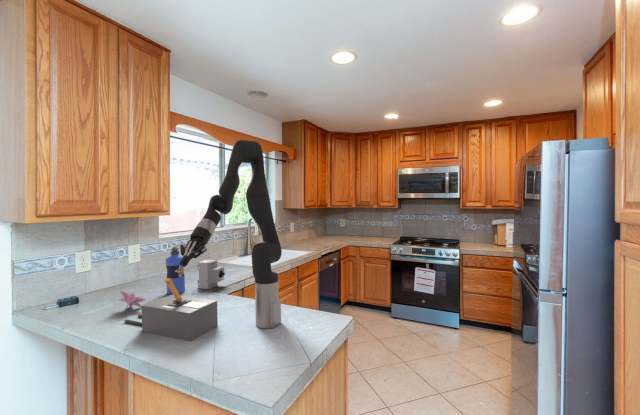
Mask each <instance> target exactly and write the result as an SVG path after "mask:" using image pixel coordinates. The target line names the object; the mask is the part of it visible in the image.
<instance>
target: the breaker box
mask: <svg viewBox="0 0 640 415" xmlns="http://www.w3.org/2000/svg"><path fill="white" fill-rule="evenodd" d="M180 296H181V298H182V299H183V300H181V301H180V302H177V300H176V298H175V297H174V295H166V296H164V297H161V298H159V299H156V300H153V301H150V302H148V303H145V304H142V305H141V306H142V308H141V313H139V314H138V315H137V317H138V318H141V321H137V320H132V319H125V320H124V323H126V324H131V325H137V326H141V332H144V333H147V334H153V335H158V336H162V337H166V338H173V339H177V340H183V341H187V342H192V341H194V340H196V339H197V338H199V337H200V336H202V335H204V334H206V333H207V332H209V331H211V330H213V329H214V328H216V327H218V325H219V323H218V319H219V318H218V300H214V299H207V298H200V297H192V296H185V295H180Z"/></svg>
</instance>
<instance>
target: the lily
mask: <svg viewBox="0 0 640 415" xmlns="http://www.w3.org/2000/svg"><path fill="white" fill-rule="evenodd" d="M118 292H119V293H120V295H121V296H122V297H121V298H119V299H117V301H119V302H120V301H121V302H124V303H126V304H127V305H126V307H125V310H124V313H126V312H127V308H128V307H129V308H132V307H133V306H136V307H138V308H141V309H142V305H141V304H140V303H142V302H145V301H147V299H146V298H144V297H139V296H136V295H135V292H134V293H133V292H130V293H127V292H126V291H124V290H119V291H118Z"/></svg>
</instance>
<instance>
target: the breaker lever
mask: <svg viewBox="0 0 640 415" xmlns="http://www.w3.org/2000/svg"><path fill="white" fill-rule="evenodd" d="M164 282H165V284H166V286H167V285H168V287H169V288H170V290H171V292H172V293H173V295H174V297H175V298H176V300H177V302H180V301H181V300H183V299H182V298H181V296H182V295H181V294H179V293H178V291H177V289H176V287H175V286H174V284H173V281H172V280H171V278H167V277H166V278H165V279H164Z"/></svg>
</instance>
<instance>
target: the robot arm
mask: <svg viewBox="0 0 640 415" xmlns="http://www.w3.org/2000/svg"><path fill="white" fill-rule="evenodd" d="M242 164H250V166H251V179H250V182H249V184H248V186H247V189H246V192H245V200H246V204H247V205H246V206H247V209H248V213H249V214H250V216H251V218H252V219H253V221H254V222H255V223H256V224H257V226H258V228H259V230H260V232H261V237H262V241H259V242H256V243H255V244H254V245H252V246H253V247H252V250H251V264H252V265H251V266H252V275H253V278H254V297H255V298H254V300H255V302H254V304H255V308H254V310H255V326H256V327H257V328H259V329H274V328H276V327H277V326H279V324H281V323H282V300H281V298H280V297H279V296H280V295H279V274H278V273H277V272H275V271H273V269H272V264H274V263H276V262H278V261H279V260H280V259H281V257H282V246H281V241H280V239H279V236H278V231H277V228H276V224H275V219H274V216H273V211H272V206H271V199H270V194H269V191H268V185H267V178H266V172H265V161H264V152H263V148H262V145H261V144H260V143H259V142H258V141H255V140H246V139H238V140H236V141H235V143H234V144H233V146H232V148H231V153H230V156H229V160H228V164H227V168H226V173H225V176H224V179H222V180H223V181H222V183H221V184H220V185H221V186H220V187H219V189H218V193H216V194H213V195H212V196H211V197H210V199H209V202H208V207H207V210H206V211H205V213H204V215H203V216H202V218H201V220H199V222H198V223H197V225H195V228H194V229H193V231H192V232H191V234H190V237H189V240H188V241H187V242H186V244H181V245H179V246H180V249H179V251H180V256H183V258H182V260H181V261H180V265H181V266H182V267H184V268H186V267H187V266H188V265H189V263H190V262H191V260H193V259H197V258H198V257H200V256H201V255H202V254H204V253H205V252H208V248H206V245H207V244H208V242H209V241H210V239H211V238H212V236H213V235H214V233H215V231H216V228H217V227H218V225H219V224H220V223H221V221H222V220H221V219H222V216H221V214H223V215H228V214H230V213H231V211H232V209H233V205H234V198H235V196H236V193H237V191H238V190H239V187H240V175H239V168H240V166H241V165H242ZM220 213H221V214H220Z"/></svg>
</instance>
